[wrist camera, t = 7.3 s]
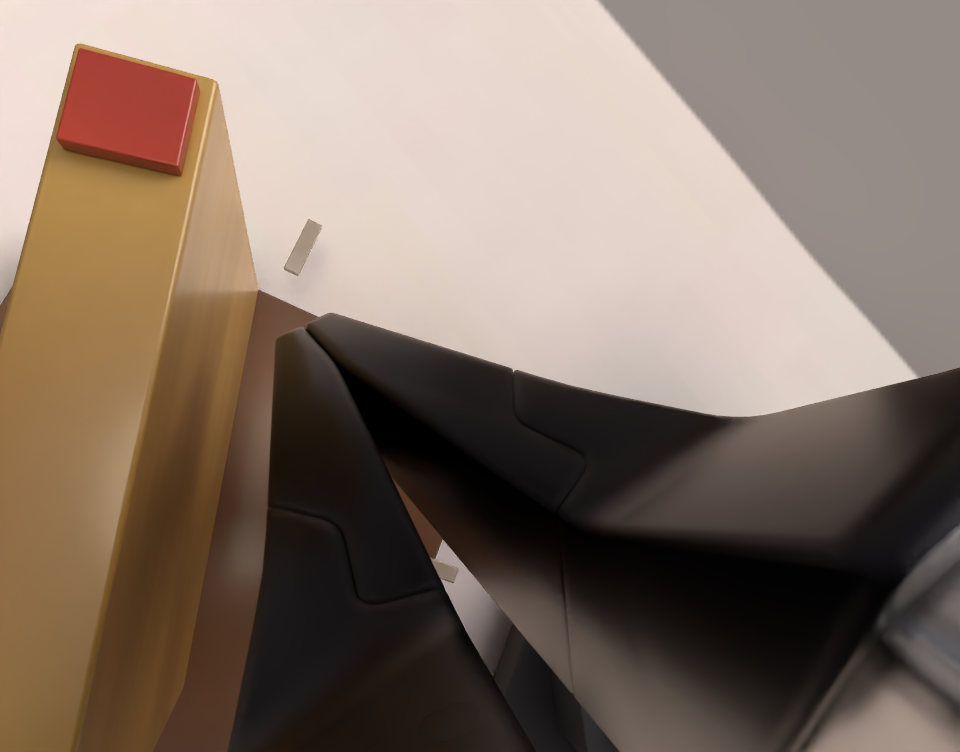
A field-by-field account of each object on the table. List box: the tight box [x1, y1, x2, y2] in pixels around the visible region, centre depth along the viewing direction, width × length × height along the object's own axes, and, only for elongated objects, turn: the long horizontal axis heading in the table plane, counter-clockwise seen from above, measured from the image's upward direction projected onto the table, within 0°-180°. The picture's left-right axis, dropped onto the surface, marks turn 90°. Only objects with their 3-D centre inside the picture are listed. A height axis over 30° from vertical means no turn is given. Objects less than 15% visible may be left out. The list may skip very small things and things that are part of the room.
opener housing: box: [494, 624, 619, 752], centre depth 17 cm, size 10×8×3 cm
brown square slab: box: [0, 219, 459, 752], centre depth 15 cm, size 13×13×2 cm
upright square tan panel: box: [0, 44, 258, 752], centre depth 10 cm, size 9×1×9 cm, turn 174°
